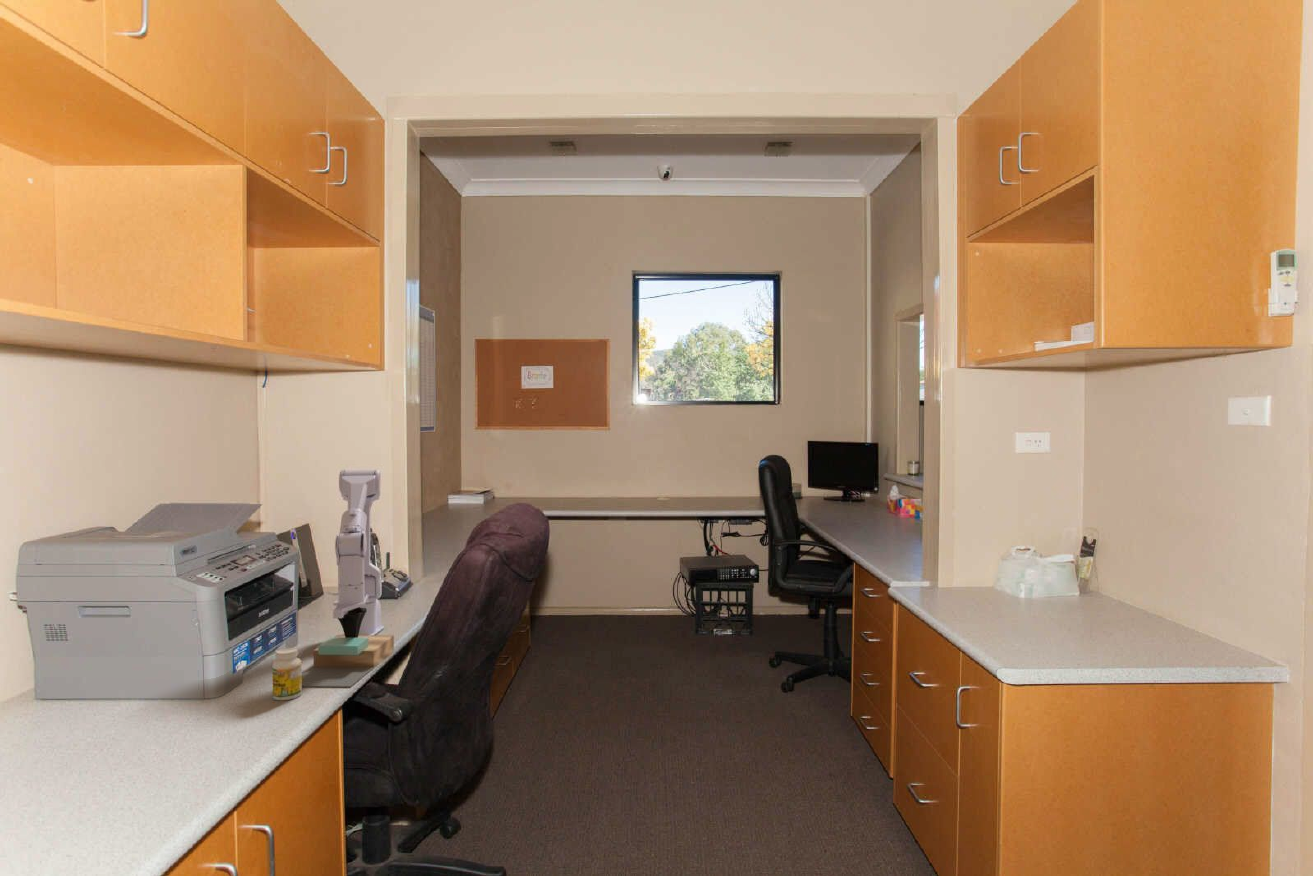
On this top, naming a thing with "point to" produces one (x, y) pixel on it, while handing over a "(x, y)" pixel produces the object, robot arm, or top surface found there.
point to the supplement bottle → (287, 674)
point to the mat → (333, 676)
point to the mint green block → (343, 646)
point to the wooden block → (360, 654)
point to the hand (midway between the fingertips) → (351, 640)
